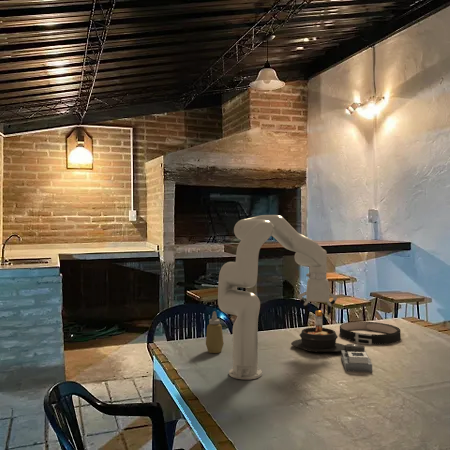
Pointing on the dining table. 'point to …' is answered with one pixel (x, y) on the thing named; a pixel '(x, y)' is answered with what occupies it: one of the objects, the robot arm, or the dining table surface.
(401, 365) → the dining table surface
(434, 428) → the dining table surface
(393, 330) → the belt
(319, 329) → the orange and grey cylinder
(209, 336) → the squeeze bottle
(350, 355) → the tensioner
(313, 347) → the casserole
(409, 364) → the dining table surface
